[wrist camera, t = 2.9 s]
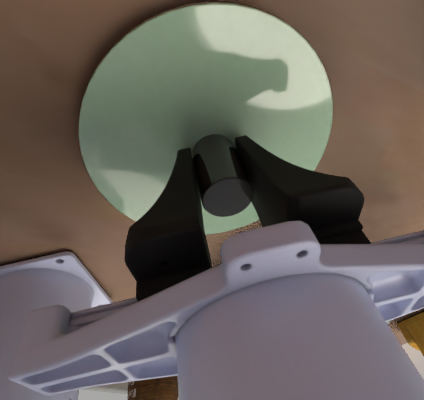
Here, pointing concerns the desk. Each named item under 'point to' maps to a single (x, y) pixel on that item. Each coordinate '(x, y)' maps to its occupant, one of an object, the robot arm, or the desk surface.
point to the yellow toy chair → (414, 331)
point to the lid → (202, 107)
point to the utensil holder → (154, 389)
